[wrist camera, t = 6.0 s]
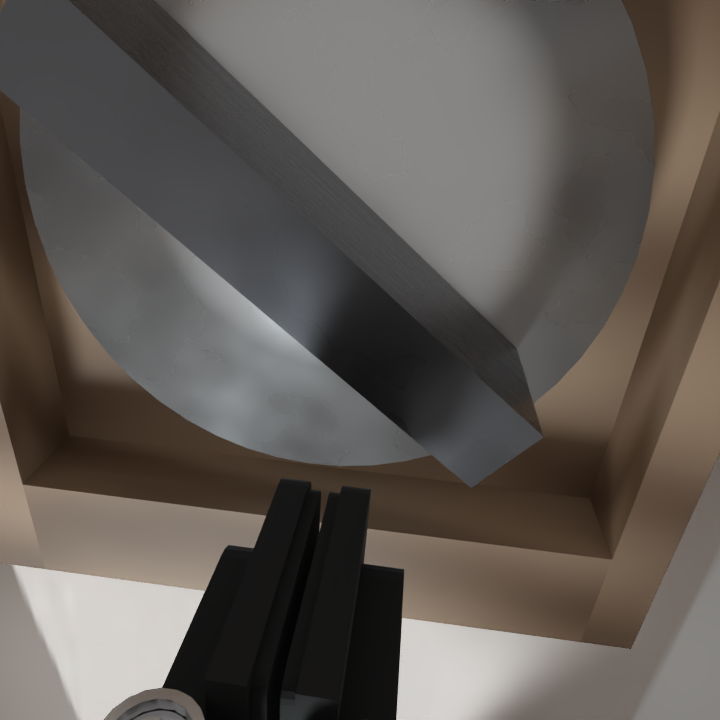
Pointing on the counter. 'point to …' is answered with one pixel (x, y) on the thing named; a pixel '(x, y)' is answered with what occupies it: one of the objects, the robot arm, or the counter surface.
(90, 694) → the counter surface
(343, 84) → the dial
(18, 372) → the dial panel
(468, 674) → the counter surface
